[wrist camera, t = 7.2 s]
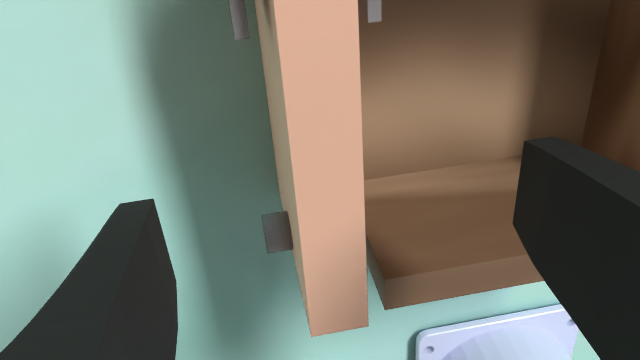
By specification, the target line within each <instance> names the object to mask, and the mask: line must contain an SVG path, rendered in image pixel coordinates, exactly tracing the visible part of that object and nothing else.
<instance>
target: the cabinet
mask: <svg viewBox="0 0 640 360" xmlns="http://www.w3.org/2000/svg"><path fill="white" fill-rule="evenodd" d="M229 7H230V13H231V18H232V24H233V30H234V36H235V40H239V39H247V38H249V33H248V26H247V18H246V11H245V4H244V0H229ZM358 21H359V52H360V82H361V113H362V143H363V173H364V204H365V234H366V261H367V264H368V266H369V269H370V272H371V274H372V277H373V280H374V282H375V285H376V288H377V290H378V293H379V296H380V299H381V301H382V304H383V307H384V309H385V310H388V309H393V308H399V307H404V306H410V305H415V304H420V303H426V302H431V301H437V300H442V299H447V298H453V297H458V296H464V295H469V294H475V293H480V292H485V291H491V290H496V289H502V288H507V287H513V286H518V285H523V284H529V283H534V282H540V281H544V279H543V278H542V276H541V275H540V274H539V272H538V271H537V269H536V268H535V266H534V265H533V263H532V261H531V259H530V257H529V256H528V254H527V252H526V250H525V248H524V246H523V244H522V242H521V240H520V238H519V236H518V234H517V232H516V230H515V228H514V226H513V224H512V223H513V216H514V209H515V202H516V194H517V187H518V180H519V173H520V166H521V159H522V152H523V145H524V141H527V140H533V139H540V138H546V137H557V138H560V139H563V140H566V141H568V142H571V143H573V144H576V145H578V146H581V147H583V148H586V149H588V150H590V151H593V152H595V153H597V154H600V155H602V156H604V157H607V158H609V159H611V160H613V161H616V162H618V163H620V164H623V165H625V166H627V167H629V168H632V169H634V170H636V171H639V172H640V0H358Z"/></svg>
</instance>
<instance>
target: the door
mask: <svg viewBox="0 0 640 360" xmlns="http://www.w3.org/2000/svg"><path fill="white" fill-rule="evenodd" d="M255 7H256V15H257V23H258V30H259V38H260V46H261V54H262V61H263V69H264V77H265V84H266V92H267V100H268V107H269V115H270V123H271V130H272V138H273V146H274V153H275V161H276V169H277V177H278V184H279V192H280V198H281V202H282V207H283V212H277V213H271V214H265V215H262V222H263V228H264V235H265V241H266V247H267V253H273V252H279V251H285V250H291V249H292V252H293V256H294V261H295V266H296V270H297V275H298V279H299V284H300V288H301V293H302V297H303V302H304V306H305V311H306V315H307V320H308V324H309V329H310V333H311V337H314V336H319V335H324V334H330V333H335V332H340V331H346V330H351V329H356V328H362V327H367V326H368V295H367V265H366V234H365V204H364V173H363V143H362V113H361V82H360V52H359V21H358V0H255Z"/></svg>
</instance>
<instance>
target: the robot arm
mask: <svg viewBox="0 0 640 360" xmlns="http://www.w3.org/2000/svg"><path fill="white" fill-rule="evenodd" d="M512 224H513V226H514V228H515V230H516V232H517V234H518V236H519V238H520V240H521V242H522V244H523V246H524V248H525V250H526V252H527V254H528V256H529V257H530V259H531V261H532V263H533V265H534V266H535V268H536V269H537V271H538V272H539V274H540V275H541V276H542V278H543V279H544V281H545V282H546V284H547V285H548V286H549V288H550V289H551V291H552V292H553V293H554V295H555V296H556V298H557V299H558V300H559V302H560V303H561V304H558V305H553V306H548V307H543V308H537V309H532V310H527V311H521V312H516V313H511V314H506V315H500V316H495V317H490V318H484V319H479V320H474V321H469V322H463V323H458V324H453V325H448V326H442V327H437V328H432V329H427V330H423V331H422V332H420V333H419V334H418V335H417V338H416V359H415V360H572V359H571V357H572V353H573V349H574V345H575V341H576V337H577V334H578V330H580V331H581V332H582V334H583V335H584V337H585V338H586V339H587V341H588V342H589V344H590V345H591V346H592V348H593V349H594V351H595V352H596V353H597V355H598V356H599V358H600V360H640V172H639V171H636V170H634V169H632V168H629V167H627V166H625V165H623V164H620V163H618V162H616V161H613V160H611V159H609V158H607V157H604V156H602V155H600V154H597V153H595V152H593V151H590V150H588V149H586V148H583V147H581V146H578V145H576V144H573V143H571V142H568V141H566V140H563V139H560V138H557V137H546V138H540V139H533V140H527V141H524V145H523V152H522V159H521V166H520V173H519V180H518V187H517V194H516V202H515V209H514V216H513V223H512ZM177 332H178V317H177V289H176V279H175V275H174V271H173V268H172V264H171V260H170V257H169V253H168V250H167V246H166V242H165V239H164V235H163V232H162V228H161V224H160V221H159V217H158V213H157V210H156V206H155V203H154V199H147V200H141V201H134V202H128V203H122V204H119V205H118V207H117V208H116V209H115V211H114V212H113V213H112V215H111V216H110V218H109V219H108V220H107V222H106V223H105V225H104V226H103V228H102V229H101V231H100V232H99V233H98V235H97V236H96V238H95V239H94V241H93V242H92V243H91V245H90V246H89V248H88V249H87V250H86V252H85V253H84V255H83V256H82V257H81V259H80V260H79V261H78V263H77V264H76V265H75V267H74V268H73V269H72V271H71V272H70V273H69V275H68V276H67V277H66V279H65V280H64V281H63V283H62V284H61V285H60V287H59V288H58V289H57V290H56V291H55V293H54V294H53V295H52V296H51V297H50V299H49V300H48V301H47V302H46V303H45V305H44V306H43V307H42V308H41V310H40V311H39V312H38V313H37V314H36V316H35V317H34V318H33V319H32V320H31V321H30V322H29V324H28V325H27V326H26V327H25V328H24V329H23V330H22V331H21V332H20V333H19V334H18V335H17V336H16V338H15V339H14V340H13V341H12V342H11V343H10V344H9V345H8V346H7V347H6V348H5V349H4V350H3V351H2V352H1V353H0V360H175V355H176V344H177Z"/></svg>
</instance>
